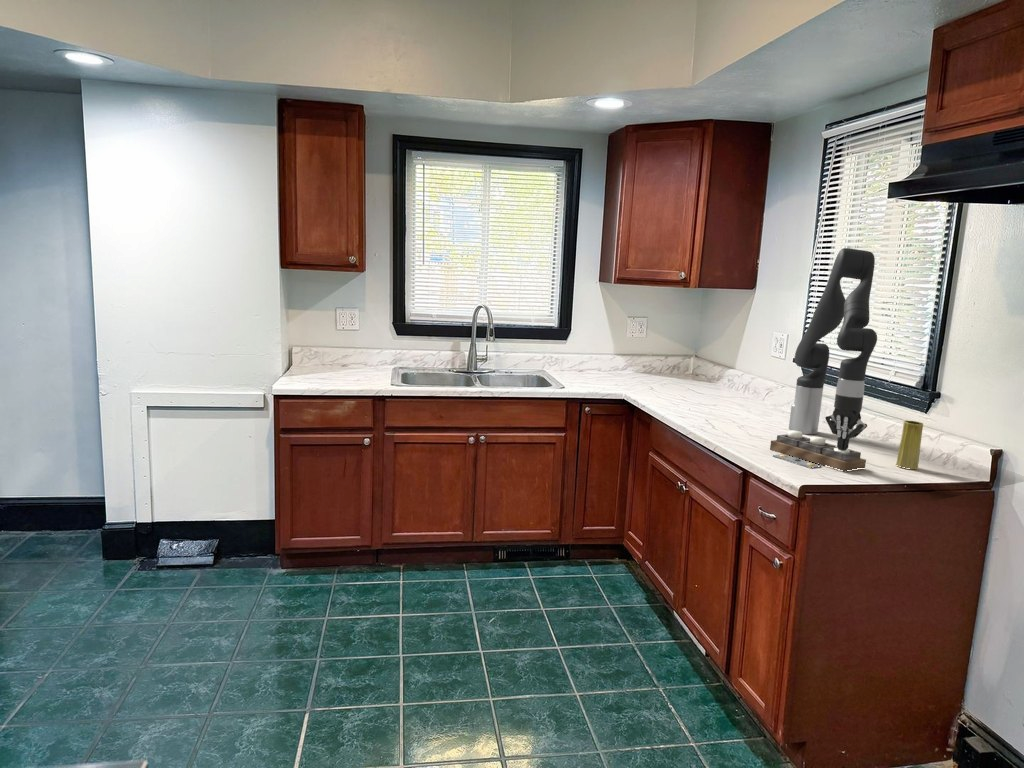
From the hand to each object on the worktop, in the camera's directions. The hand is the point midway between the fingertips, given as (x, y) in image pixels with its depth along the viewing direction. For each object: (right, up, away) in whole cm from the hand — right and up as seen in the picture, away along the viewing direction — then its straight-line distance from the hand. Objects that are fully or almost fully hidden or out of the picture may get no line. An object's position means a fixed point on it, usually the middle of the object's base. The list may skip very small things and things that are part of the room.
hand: (842, 449), depth 210 cm
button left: (-8, +2, +15) cm, 17 cm away
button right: (0, -2, 0) cm, 2 cm away
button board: (-5, -4, +8) cm, 10 cm away
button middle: (-4, +1, +7) cm, 9 cm away
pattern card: (-12, -4, +4) cm, 13 cm away
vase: (+22, -6, +4) cm, 23 cm away
